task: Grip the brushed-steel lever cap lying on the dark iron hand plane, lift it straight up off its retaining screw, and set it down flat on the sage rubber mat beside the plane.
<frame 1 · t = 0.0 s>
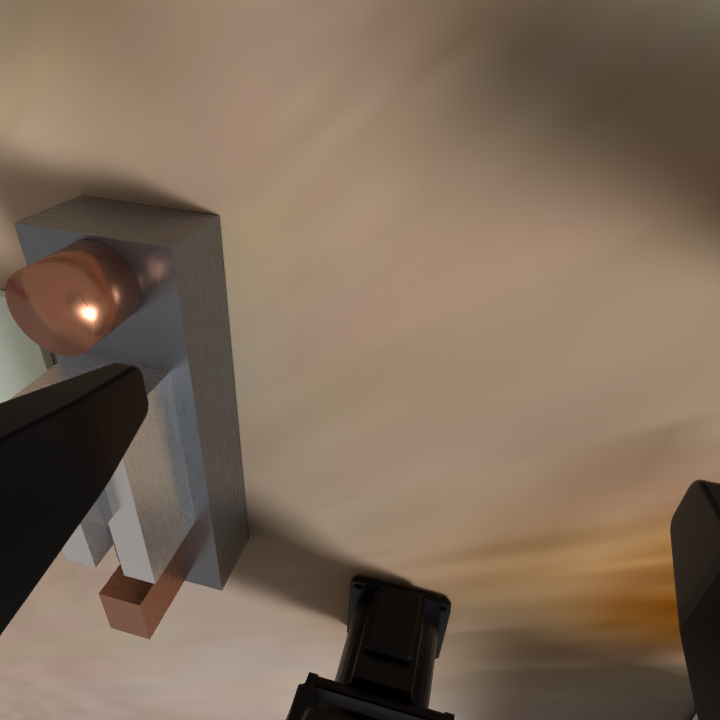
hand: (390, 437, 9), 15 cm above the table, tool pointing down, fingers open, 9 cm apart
hand plane: (179, 397, 31), on the table
lever cap: (138, 443, 27), point 4 cm above the table, touching hand plane
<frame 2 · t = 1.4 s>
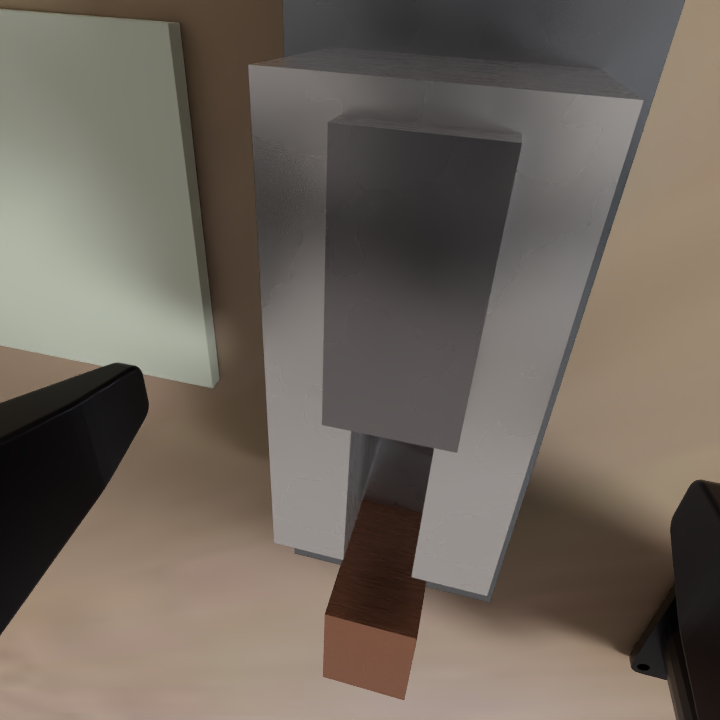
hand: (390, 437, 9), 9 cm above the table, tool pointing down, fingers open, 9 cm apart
hand plane: (446, 238, 16), on the table
lever cap: (428, 297, 13), point 4 cm above the table, touching hand plane
rubber mat: (71, 214, 19), on the table
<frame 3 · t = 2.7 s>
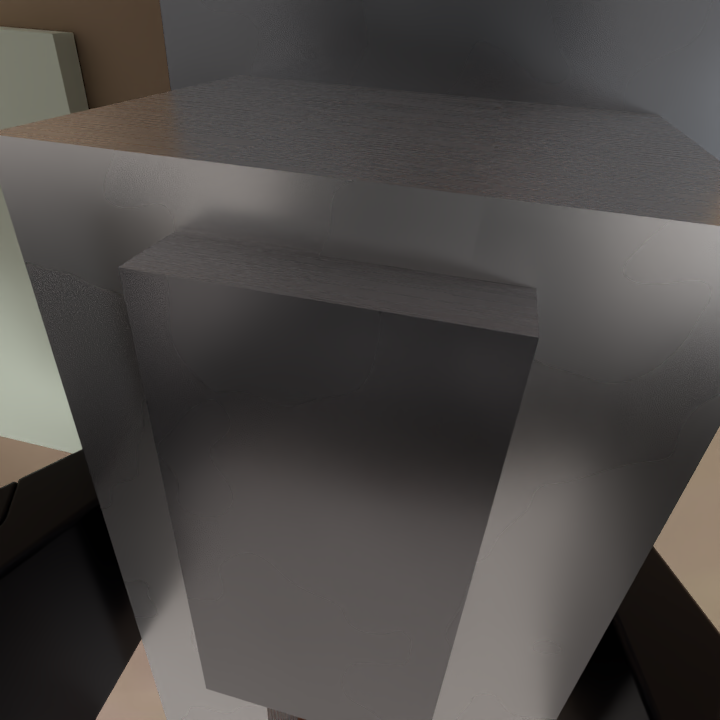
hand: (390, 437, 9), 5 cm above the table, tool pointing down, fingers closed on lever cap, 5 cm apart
hand plane: (428, 311, 12), on the table
lever cap: (396, 417, 9), point 4 cm above the table, touching gripper, hand plane
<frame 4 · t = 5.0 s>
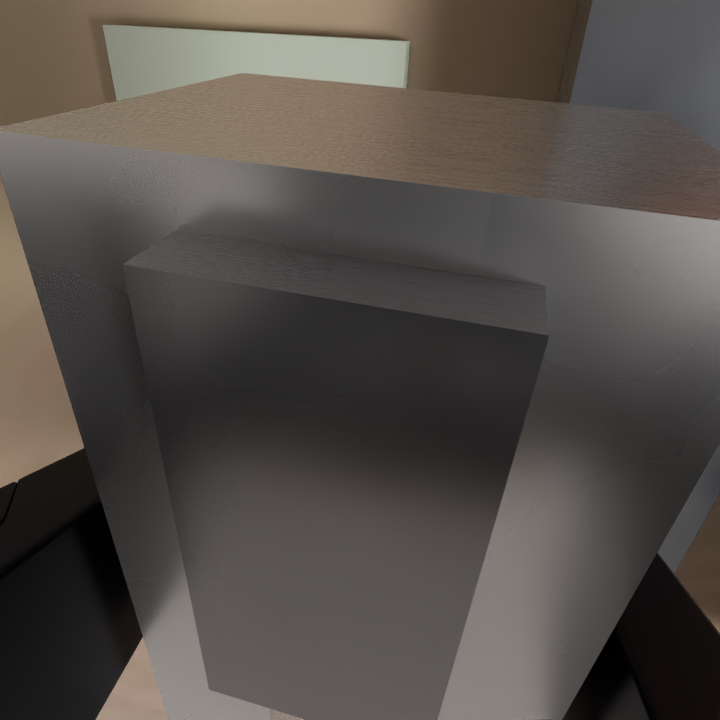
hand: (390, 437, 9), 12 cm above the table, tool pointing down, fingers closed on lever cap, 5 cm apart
hand plane: (643, 236, 17), on the table
lever cap: (398, 417, 9), point 11 cm above the table, touching gripper
rubber mat: (264, 219, 20), on the table
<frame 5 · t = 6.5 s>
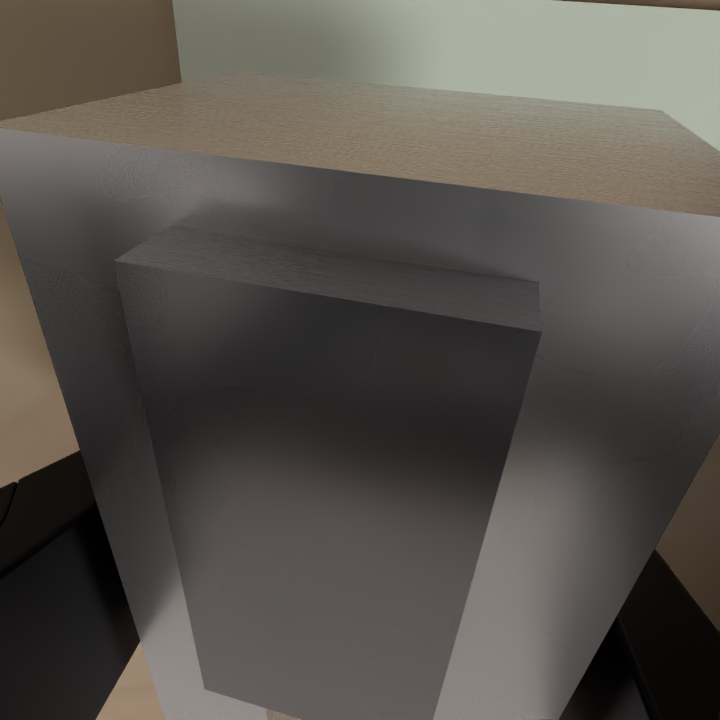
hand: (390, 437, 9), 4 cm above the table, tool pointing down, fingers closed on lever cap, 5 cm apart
lever cap: (396, 416, 9), point 4 cm above the table, touching gripper
rubber mat: (422, 316, 12), on the table
when the fingers open (2 cm above the table, at t = 7.6 s): lever cap drops 1 cm, resting on rubber mat.
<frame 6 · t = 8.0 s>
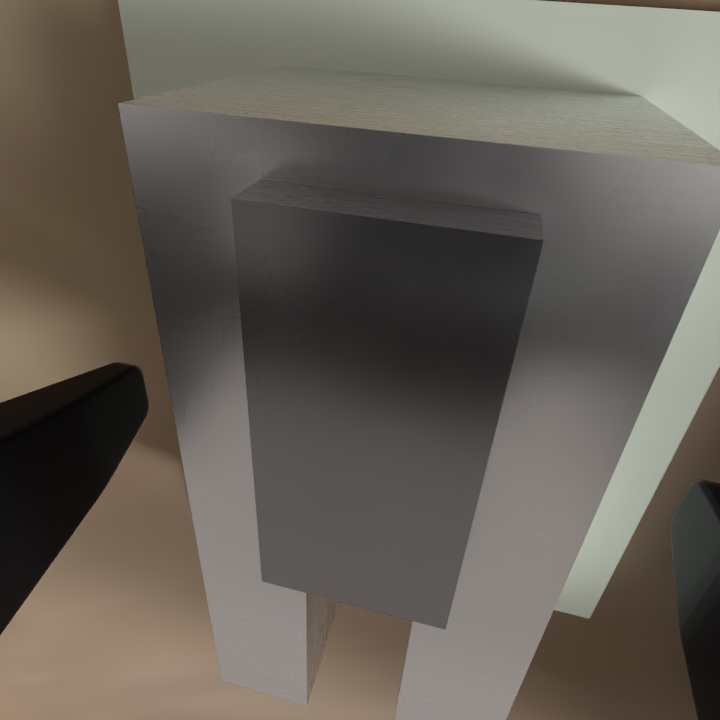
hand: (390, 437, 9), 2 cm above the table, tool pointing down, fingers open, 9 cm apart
lever cap: (413, 373, 10), point 1 cm above the table, touching rubber mat
rubber mat: (413, 357, 11), on the table
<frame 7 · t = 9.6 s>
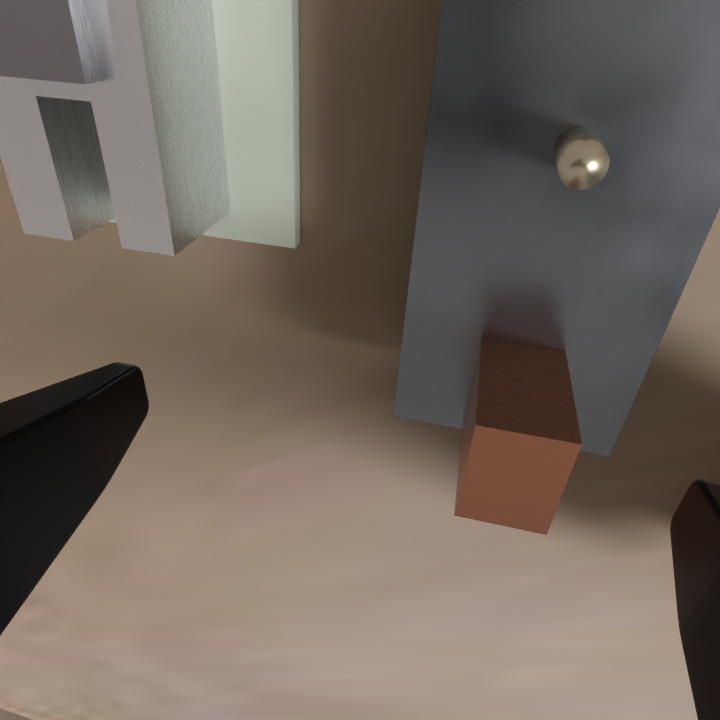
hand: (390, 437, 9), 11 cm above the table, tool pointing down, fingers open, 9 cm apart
hand plane: (580, 39, 15), on the table
lever cap: (140, 43, 17), point 1 cm above the table, touching rubber mat
rubber mat: (148, 42, 17), on the table
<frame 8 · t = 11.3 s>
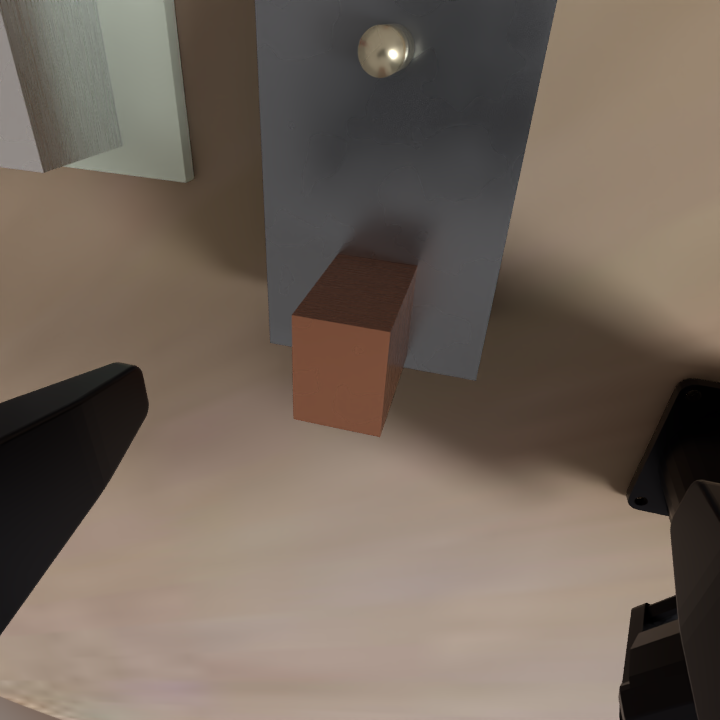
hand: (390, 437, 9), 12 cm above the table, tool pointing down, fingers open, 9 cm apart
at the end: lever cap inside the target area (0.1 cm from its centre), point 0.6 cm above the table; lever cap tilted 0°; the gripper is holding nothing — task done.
